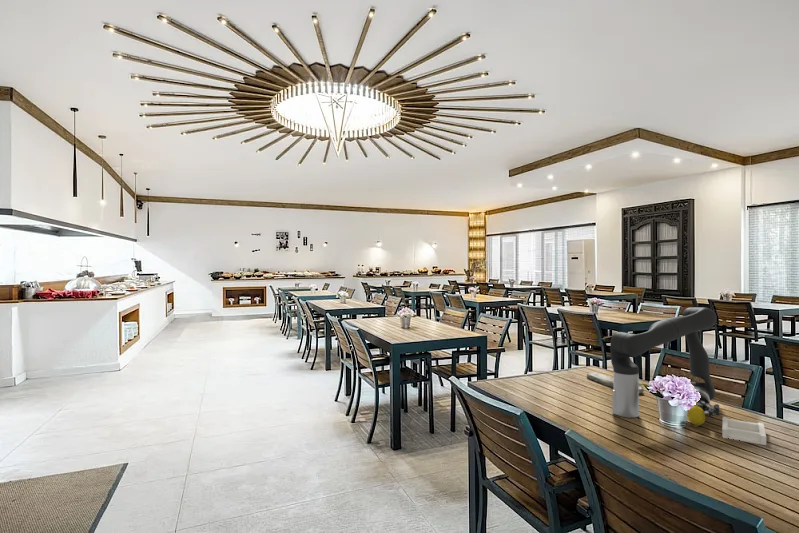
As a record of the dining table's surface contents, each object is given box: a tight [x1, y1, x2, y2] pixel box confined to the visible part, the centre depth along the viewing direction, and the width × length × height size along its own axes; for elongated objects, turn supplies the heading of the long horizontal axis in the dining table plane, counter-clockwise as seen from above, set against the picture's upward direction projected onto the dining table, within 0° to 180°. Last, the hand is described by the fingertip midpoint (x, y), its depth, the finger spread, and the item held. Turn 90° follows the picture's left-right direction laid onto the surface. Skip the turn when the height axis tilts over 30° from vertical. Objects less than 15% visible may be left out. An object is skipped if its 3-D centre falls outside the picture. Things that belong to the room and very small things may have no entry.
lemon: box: [687, 405, 706, 427], centre depth 169 cm, size 6×6×8 cm
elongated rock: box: [586, 371, 645, 395], centre depth 226 cm, size 35×5×10 cm
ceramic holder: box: [721, 416, 767, 446], centre depth 161 cm, size 12×15×3 cm
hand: (696, 411), depth 167 cm, fingers open, 8 cm apart
